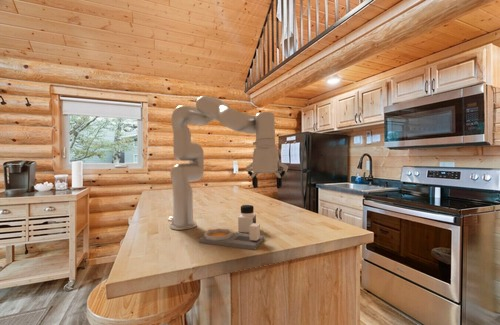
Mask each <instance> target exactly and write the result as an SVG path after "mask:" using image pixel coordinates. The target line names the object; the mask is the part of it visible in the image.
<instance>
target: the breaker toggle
mask: <svg viewBox="0 0 500 325" xmlns="http://www.w3.org/2000/svg"><path fill="white" fill-rule="evenodd" d="M249 234H250V240H255V241H257V240H258V239H259V238H260V235H261V223H256V224H255V223H253V224H251V225H250V233H249Z"/></svg>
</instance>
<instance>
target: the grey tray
mask: <svg viewBox="0 0 500 325" xmlns="http://www.w3.org/2000/svg"><path fill="white" fill-rule="evenodd" d="M264 240H265V235H261V234H260V238H259V239H258V240H257V241H255V240H250V233H243V232H236V231H235V232H233V231H232V230H230V229H227V228H214V229H209V230H208V231H207V230H206V231H205V232H204V233H203V236H202V237H200V238H199V239H198V243H201V244H209V245H215V246H225V247H231V248H238V249H239V248H240V249H247V250H253V251H255V250H256V249H257V248H258V247H259V246H260V245H261V243H262V242H264Z"/></svg>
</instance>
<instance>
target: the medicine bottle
mask: <svg viewBox="0 0 500 325" xmlns="http://www.w3.org/2000/svg"><path fill="white" fill-rule="evenodd" d="M237 218H238V219H237V221H238V222H237V223H238V224H237V225H238V226H237V231H238V232H237V233H244V234H250V225H251V224H253V223H255V224H257V214H255V212H254V205H252V204H243V205H241V206H240V215H239V216H238V217H237Z"/></svg>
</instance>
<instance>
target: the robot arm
mask: <svg viewBox="0 0 500 325" xmlns="http://www.w3.org/2000/svg"><path fill="white" fill-rule="evenodd" d="M170 120H171V121H170V122H171V127H172V134H173V135H172V136H173V137H172V138H173V139H172V141H173V143H172V144H173V145H172V146H173V147H172V148H173V158H174V159H175V160H177V161H179V162H189V163H177V164H175V165H173V166H172V167H171V168H170V174H169V175H170V180H171V184H172V203H173V204H172V205H173V207H172V209H173V210H172V211H173V214H172V215H173V216H169V217H168V219H167V221H168V222H171V224H170V229H171V230H174V231H175V230H176V231H177V230H178V231H179V230H180V231H181V230H183V231H185V230H189V229H192V228H193V229H194V228H195V227H196V226H197V222H196V221H194V206H193V205H194V204H193V203H194V199H193V197H194V194H193V188H192V186H191V184H190V183H191V182H199V181H200V180H201V179H202V178H203V177H204V168H205V167H204V166H205V164H204V163H205V161H204V160H205V158H204V156H205V155H204V154H205V153H204V150H203V147H202V146H201V144H199V143H197V142H192V134H191V130H190V128H189V126H188V125H193V126H199V127H200V126H201V127H202V126H205V125H208V124H209V123H211V122H213V121H218V122H219V123H220V124H221V125H223V126H224V127H226V128H229V129H230V130H233V131H235V132H239V133H244V134H245V133H246V134H251V135H253V134H255V141H253V142H252V145H253V146H255V147H254V148H253V153H252V163H251V164H249V165H246V167H245V170H246V172H247V174H248V175H249V176H250V178H251V182H252V187H253V189H256V188H258V183H259V182H258V179H259V178H258V177H257V176H258V175H259V174H275V176H276V188H277V189H278V190H279V189H281V187H282V186H283V181H282V178H283V176H284V175H286V173H287V172H288V170H289V166H288V165H286V164H284V163H283V162H280V156H279V150H278V146H277V147H276V129H275V128H276V127H275V124H276V123H275V114H274V113H273V112H270V111H261V112H257V113H256V114H255V115H253V114H249V113H245V112H241V111H238V110H236V109H234V108H232V107H231V106H230V104H228V103H226V102H223V101H222V100H221V99H219V98H217V97H213V96H209V95H201V96H199V97H198V98H197V99H196V102H195V106H191V105H185V104H184V105H178V106H177V107H175V108H174V110H173V111H172V113H171V119H170ZM280 167H281V168H283V169H282V171H281V170H280V169H281V168H280Z"/></svg>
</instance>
